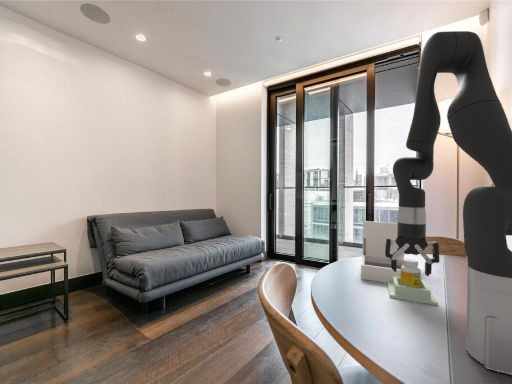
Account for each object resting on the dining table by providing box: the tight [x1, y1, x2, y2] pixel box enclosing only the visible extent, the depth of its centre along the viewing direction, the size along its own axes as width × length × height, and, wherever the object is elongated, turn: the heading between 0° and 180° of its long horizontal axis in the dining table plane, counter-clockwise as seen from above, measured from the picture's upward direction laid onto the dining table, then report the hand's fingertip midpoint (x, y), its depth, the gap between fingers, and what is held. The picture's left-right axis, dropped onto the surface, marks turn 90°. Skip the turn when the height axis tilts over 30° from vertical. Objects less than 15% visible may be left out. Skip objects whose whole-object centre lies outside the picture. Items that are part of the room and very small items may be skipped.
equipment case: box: [360, 220, 405, 284], centre depth 95 cm, size 17×15×19 cm
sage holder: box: [387, 276, 439, 306], centre depth 78 cm, size 12×12×3 cm
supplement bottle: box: [401, 258, 422, 288], centre depth 77 cm, size 5×5×10 cm
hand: (410, 273), depth 78 cm, fingers open, 8 cm apart
